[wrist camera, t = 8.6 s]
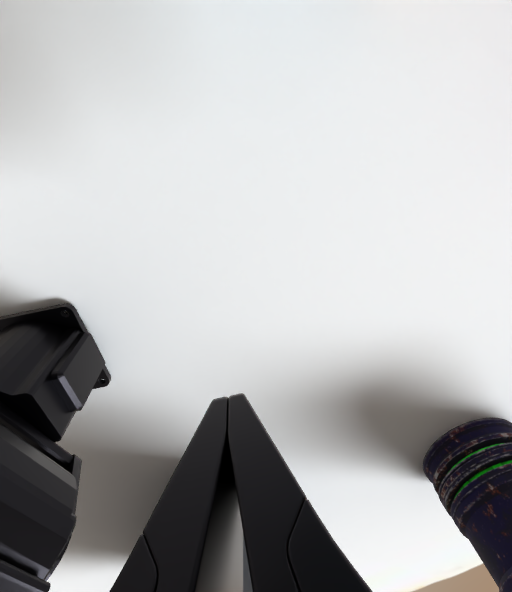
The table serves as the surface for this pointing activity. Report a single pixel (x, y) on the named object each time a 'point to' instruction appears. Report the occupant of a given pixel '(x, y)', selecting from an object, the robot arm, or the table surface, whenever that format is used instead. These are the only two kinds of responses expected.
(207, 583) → the robot arm
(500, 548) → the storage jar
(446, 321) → the table surface
